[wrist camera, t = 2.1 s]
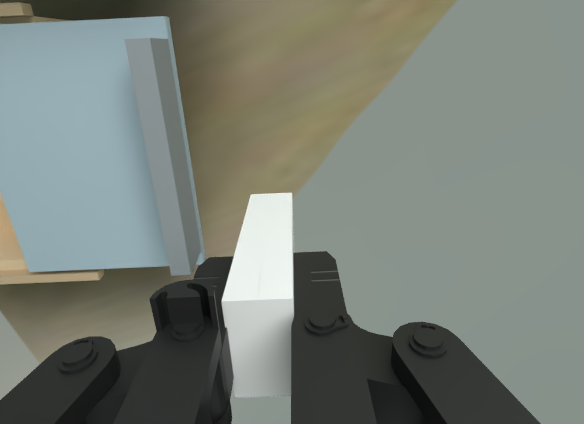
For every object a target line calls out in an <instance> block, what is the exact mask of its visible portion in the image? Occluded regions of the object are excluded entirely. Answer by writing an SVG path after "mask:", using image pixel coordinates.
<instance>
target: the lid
mask: <svg viewBox="0 0 584 424" xmlns="http://www.w3.org/2000/svg"><path fill="white" fill-rule="evenodd" d="M0 193H1V196H2V199H3V201H4V204H5V207H6V210H7V212H8V215H9V218H10V220H11V223H12V226H13V229H14V231H15V234H16V237H17V240H18V242H19V245H20V248H21V250H22V253H23V256H24V259H25V261H26V264H27V267H28V270H29V272H45V271H68V270H91V269H114V268H137V267H160V266H169V267H170V272H171V276H173V275H191V274H192V271H193V269H194V266H195V265H201V264H202V263H203V262H204V261H205V260H206V256H205V250H204V243H203V237H202V230H201V224H200V217H199V211H198V204H197V198H196V191H195V185H194V178H193V172H192V165H191V159H190V152H189V146H188V139H187V133H186V126H185V120H184V113H183V107H182V100H181V94H180V87H179V81H178V74H177V67H176V61H175V54H174V48H173V41H172V35H171V28H170V22H169V17H166V16H158V17H138V18H118V19H98V20H78V21H58V22H39V23H19V24H0Z"/></svg>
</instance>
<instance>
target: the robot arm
mask: <svg viewBox="0 0 584 424" xmlns="http://www.w3.org/2000/svg"><path fill="white" fill-rule="evenodd" d="M294 248H295V247H294V226H293V206H292V193H273V194H251V196H250V200H249V204H248V207H247V211H246V214H245V218H244V222H243V225H242V229H241V233H240V236H239V240H238V243H237V247H236V251H235V254H234V257H210V258H208V259H207V260H206V261H204V262H203V263H202V264H201V265H200V266H199V267H198V268H197V271H196V273H195V275H194V279H193V280H185V281H178V282H175V283H172V284H169V285H166V286H164V287H163V288H161V289H160V290H158V291H156V292H155V293H154V294H153V296H152V297H151V298H150V303H151V308H152V312H153V317H154V321H155V325H156V330H157V332H156V334H155V336H154V338H153V340H152V341H150V342H147V343H144V344H141V345H138V346H134V347H131V348H127V349H123V350H119V351H116V348H115V345H114V344H113V343H112V341H111V340H110V339H107V338H104V337H86V338H82V339H78V340H75V341H73V342H71V343H68V344H66V345H64V346H62V347H61V348H59V349H58V350H57V351H55V352H54V353H52V354H51V355H50V356H49V357H48V358H47V359H46V360H44V361H43V362H42V363H41V364H40V365H39V366H38V367H37V368H36V369H34V370H33V371H32V372H31V373H30V374H29V375H28V376H27V377H26V378H24V379H23V381H21V382H20V383H19V384H18V385H17V386H16V387H14V389H12V390H11V391H10V392H9V393H8V394H7V395H6V396H5V397H3V398H2V399H1V400H0V424H231V421H232V413H231V404H230V396H231V391H232V385H233V388H234V396H235V398H239V397H241V398H242V397H269V396H291V424H540V423H539V422H538V421H537V420H536V418H534V416H533V415H532V414H531V413H530V412H529V411H528V410H527V409H526V408H525V407H524V406H523V405H522V404H521V403H520V402H519V401H518V400H517V399H516V398H515V397H514V395H513V394H512V393H511V392H510V391H509V390H508V389H507V388H506V387H505V386H504V385H503V384H502V383H501V382H500V381H499V380H498V379H497V378H496V377H495V376H494V375H493V374H492V372H490V370H489V369H488V368H487V367H486V366H485V365H484V364H483V363H482V362H481V361H480V360H479V359H478V358H477V357H476V356H475V355H474V354H473V353H472V352H471V350H469V348H468V347H467V346H466V345H465V344H464V343H463V342H462V341H461V340H460V339H459V338H458V337H457V336H455V335H454V334H453V333H452V332H450V331H449V330H448V329H445V328H443V327H441V326H438V325H436V324H431V323H426V322H414V323H408V324H405V325H403V326H400V327H399V328H398V329H397V330H396V331H395V332H394V335H393V337H389V336H384V335H379V334H375V333H371V332H368V331H366V330H364V329H361V328H360V327H358V326H357V325H355V324H354V323H353V321H352V319H351V317H350V316H349V315H348V314H347V311H346V307H345V302H344V298H343V293H342V288H341V283H340V280H339V274H338V270H337V265H336V260H335V259H334V258H333V257H332V256H331V255H330V254H329V253H328V252H326V251H325V252H301V253H295V249H294Z"/></svg>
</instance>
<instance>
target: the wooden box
mask: <svg viewBox="0 0 584 424" xmlns="http://www.w3.org/2000/svg"><path fill="white" fill-rule="evenodd" d="M58 21H70V20H61V19H53V18H44V17H36V16H34V15H33V11H32V7H31V4H27V3H21V2H16V3H0V24H19V23H39V22H58ZM104 274H105V271H104V269H91V270H68V271H45V272H29V270H28V267H27V264H26V261H25V259H24V256H23V253H22V250H21V248H20V245H19V242H18V240H17V237H16V234H15V231H14V229H13V226H12V223H11V220H10V218H9V215H8V212H7V210H6V207H5V204H4V201H3V199H2V196H1V193H0V284H21V283H44V282H67V281H90V280H100V279H101V277H102V276H103V275H104Z"/></svg>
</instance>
